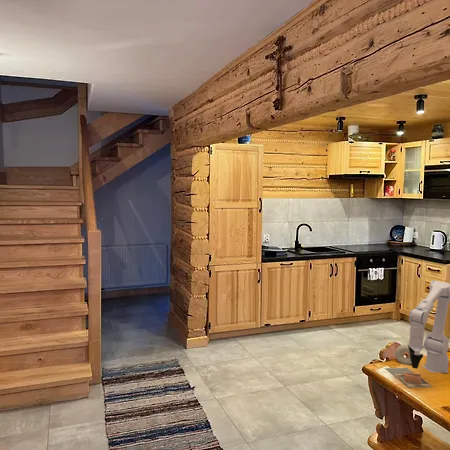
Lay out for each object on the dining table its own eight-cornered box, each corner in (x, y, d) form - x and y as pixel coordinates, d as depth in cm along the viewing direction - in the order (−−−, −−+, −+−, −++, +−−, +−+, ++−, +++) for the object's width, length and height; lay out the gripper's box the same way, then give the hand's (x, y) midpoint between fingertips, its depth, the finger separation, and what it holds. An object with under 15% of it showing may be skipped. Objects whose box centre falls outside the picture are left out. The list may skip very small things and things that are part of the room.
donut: (415, 365, 219) (417, 345, 218) (415, 367, 216) (417, 348, 215) (394, 360, 223) (396, 342, 222) (394, 363, 220) (395, 344, 219)
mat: (406, 369, 213) (407, 367, 213) (432, 388, 194) (432, 386, 194) (384, 369, 211) (384, 368, 211) (407, 389, 192) (407, 387, 192)
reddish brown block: (404, 381, 198) (405, 374, 198) (403, 377, 202) (404, 371, 201) (421, 384, 196) (421, 377, 196) (419, 380, 200) (420, 374, 199)
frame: (416, 375, 205) (416, 373, 205) (430, 386, 194) (430, 384, 194) (394, 376, 203) (394, 374, 203) (408, 387, 193) (408, 385, 192)
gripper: (428, 342, 189) (425, 372, 190) (424, 332, 202) (421, 360, 204) (410, 340, 191) (408, 369, 192) (408, 329, 204) (405, 357, 206)
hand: (413, 364), depth 198 cm, fingers open, 7 cm apart
